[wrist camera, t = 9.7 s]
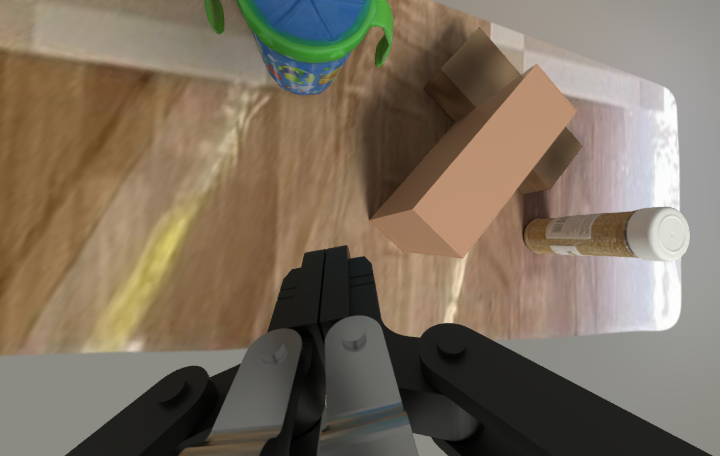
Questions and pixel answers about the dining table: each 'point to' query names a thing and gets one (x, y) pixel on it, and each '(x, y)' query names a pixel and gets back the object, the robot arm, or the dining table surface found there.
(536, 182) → the brown wooden bar
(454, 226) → the block
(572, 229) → the sprinkles bottle
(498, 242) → the dining table surface
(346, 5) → the snack cup
